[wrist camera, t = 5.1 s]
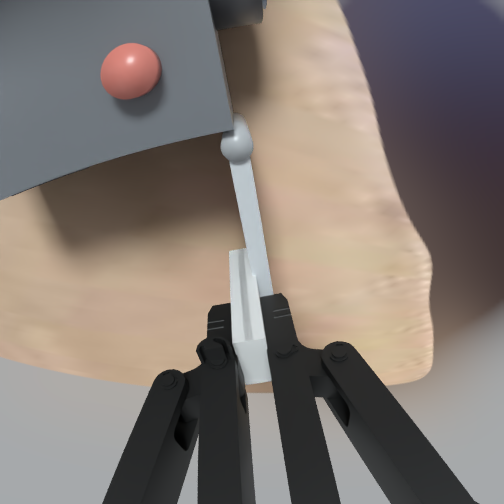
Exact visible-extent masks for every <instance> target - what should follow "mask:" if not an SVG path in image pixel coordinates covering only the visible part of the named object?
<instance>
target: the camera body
mask: <svg viewBox="0 0 504 504" xmlns="http://www.w3.org/2000/svg"><path fill="white" fill-rule="evenodd" d="M266 5H267V0H0V200H2V199H5V198H7V197H9V196H14V195H16V194H19V193H21V192H23V191H26V190H28V189H31V188H34V187H36V186H39V185H41V184H44V183H47V182H49V181H52V180H55V179H57V178H60V177H63V176H66V175H69V174H71V173H74V172H77V171H80V170H83V169H86V168H89V167H90V166H92V165H95V164H98V163H102V162H105V161H108V160H111V159H115V158H118V157H121V156H125V155H128V154H132V153H135V152H139V151H143V150H146V149H150V148H154V147H158V146H162V145H166V144H170V143H174V142H178V141H182V140H186V139H191V138H195V137H200V136H204V135H209V134H214V133H219V132H224V131H229V130H234V126H233V107H232V102H231V97H230V92H229V87H228V82H227V76H226V71H225V66H224V61H223V56H222V51H221V46H220V41H219V36H218V31H217V30H222V29H227V28H233V27H239V26H246V25H253V24H260V23H262V19H263V9H266Z"/></svg>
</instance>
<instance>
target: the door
mask: <svg viewBox="0 0 504 504" xmlns="http://www.w3.org/2000/svg"><path fill="white" fill-rule="evenodd" d="M233 126H234V130H229V131H224V132H223V135H222V140H221V151H222V154H223V155H224V156H225V157H226V158H227V159H228V160H229V163H230V168H231V173H232V178H233V183H234V188H235V193H236V198H237V203H238V208H239V212H240V217H241V222H242V227H243V232H244V237H245V242H246V247H247V252H248V257H249V262H250V267H251V272H252V276H254V275H256V279H257V284H258V289H259V294H260V297H263V296H269V295H273V289H272V283H271V277H270V271H269V265H268V259H267V253H266V247H265V241H264V235H263V229H262V223H261V217H260V212H259V206H258V200H257V194H256V189H255V183H254V177H253V171H252V166H251V160H250V155H251V153H252V151H253V141H252V138H251V135H250V132H249V128H248V125H247V122H246V119H245V117H244V116H243V115H242V114H240V113H233Z"/></svg>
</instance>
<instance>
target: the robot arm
mask: <svg viewBox="0 0 504 504" xmlns="http://www.w3.org/2000/svg"><path fill="white" fill-rule="evenodd" d="M229 264H230V295H231V303H227V304H221V305H215V306H212V308H211V310H210V311H209V313H208V324H207V338H206V339H204V340H203V341H201V342H200V343H199V345H198V346H197V349H196V352H197V354H198V357H199V359H200V361H201V363H202V364H201V365H200V366H198V367H197V368H195V369H193V370H191V371H188V372H186V373H183V374H182V373H181V372H180V371H178V370H175V369H172V370H166V371H163V372H162V373H160V374H159V375H158V376H157V377H156V379H155V380H154V382H153V384H152V387H151V389H150V391H149V393H148V396H147V398H146V400H145V403H144V405H143V407H142V410H141V412H140V414H139V416H138V419H137V421H136V423H135V426H134V428H133V430H132V433H131V435H130V437H129V440H128V442H127V445H126V447H125V449H124V452H123V454H122V456H121V459H120V461H119V464H118V466H117V469H116V471H115V474H114V476H113V478H112V481H111V483H110V486H109V488H108V491H107V493H106V496H105V498H104V501H103V503H102V504H177V502H178V499H179V496H180V492H181V489H182V486H183V483H184V480H185V476H186V473H187V470H188V467H189V463H190V460H191V457H192V454H193V450H194V447H195V444H196V441H197V438H198V434H199V448H198V449H199V450H198V504H256V502H255V490H254V477H253V465H252V453H251V439H250V425H249V411H248V398H247V393H246V390H245V384H246V385H249V384H256V383H263V382H269V381H272V386H273V392H274V398H275V405H276V411H277V417H278V423H279V429H280V435H281V442H282V448H283V453H284V460H285V466H286V472H287V478H288V485H289V491H290V496H291V502H292V504H341V503H340V498H339V494H338V490H337V486H336V481H335V477H334V473H333V469H332V465H331V461H330V457H329V453H328V449H327V444H326V440H325V436H324V433H323V429H322V425H321V421H320V417H319V413H318V409H317V405H316V401H315V397H323V398H324V400H325V401H326V403H327V405H328V406H329V408H330V409H331V411H332V412H333V414H334V416H335V417H336V419H337V420H338V422H339V423H340V425H341V427H342V428H343V430H344V431H345V433H346V434H347V436H348V438H349V439H350V441H351V442H352V444H353V446H354V447H355V449H356V450H357V452H358V453H359V455H360V457H361V458H362V460H363V461H364V463H365V464H366V466H367V467H368V469H369V471H370V472H371V474H372V475H373V477H374V478H375V480H376V481H377V483H378V484H379V486H380V487H381V489H382V491H383V492H384V494H385V495H386V497H387V498H388V500H389V501H390V503H391V504H479V503H477V502H475V501H474V500H473V498H472V497H471V496H470V495H469V493H468V492H467V491H466V489H465V488H464V487H463V485H462V484H461V483H460V481H459V480H458V479H457V477H456V476H455V475H454V474H453V472H452V471H451V470H450V468H449V467H448V466H447V464H446V463H445V462H444V461H443V459H442V458H441V456H439V454H438V453H437V451H436V450H435V449H434V447H433V446H432V445H431V444H430V442H429V441H428V440H427V438H426V437H425V436H424V435H423V433H422V432H421V431H420V430H419V428H418V427H417V426H416V424H415V423H414V422H413V420H412V419H411V418H410V417H409V415H408V414H407V413H406V412H405V410H404V409H403V408H402V407H401V405H400V404H399V403H398V401H397V400H396V399H395V398H394V396H393V395H392V394H391V393H390V391H389V390H388V389H387V388H386V386H385V385H384V384H383V383H382V381H381V380H380V379H379V378H378V376H377V375H376V374H375V373H374V371H373V370H372V369H371V368H370V366H369V365H368V364H367V363H366V361H365V360H364V359H363V358H362V356H361V355H360V354H359V353H358V352H357V350H356V349H355V348H354V347H353V346H352V345H351V344H349V343H346V342H340V341H337V342H333V343H330V344H329V345H327V346H325V348H324V349H323V350H320V349H310V348H307V347H305V346H303V345H302V344H301V343H300V342H299V341H298V339H297V336H296V332H295V328H294V324H293V320H292V316H291V312H290V309H289V305H288V301H287V299H286V298H285V297H284V296H283V295H282V294H281V293H279V294H274V295H269V296H263V297H260V294H259V289H258V284H257V279H256V275H254V276H252V272H251V267H250V262H249V257H248V252H247V248H244V249H238V250H232V251H229Z"/></svg>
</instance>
